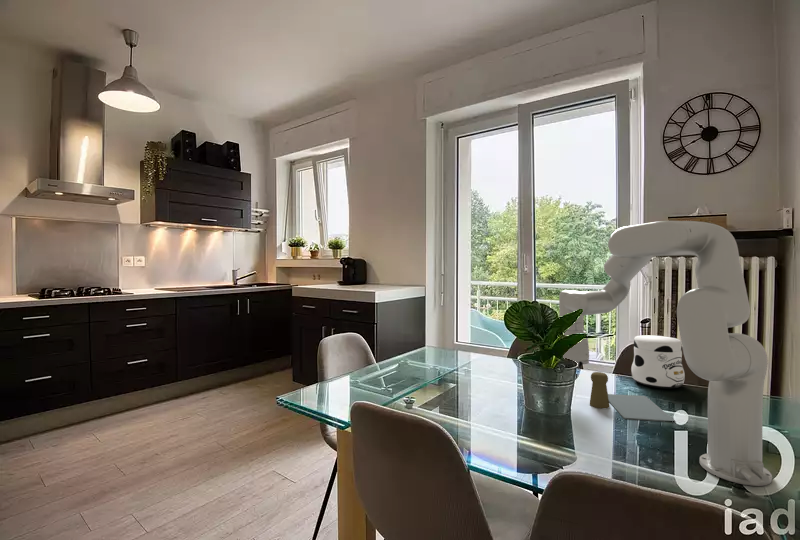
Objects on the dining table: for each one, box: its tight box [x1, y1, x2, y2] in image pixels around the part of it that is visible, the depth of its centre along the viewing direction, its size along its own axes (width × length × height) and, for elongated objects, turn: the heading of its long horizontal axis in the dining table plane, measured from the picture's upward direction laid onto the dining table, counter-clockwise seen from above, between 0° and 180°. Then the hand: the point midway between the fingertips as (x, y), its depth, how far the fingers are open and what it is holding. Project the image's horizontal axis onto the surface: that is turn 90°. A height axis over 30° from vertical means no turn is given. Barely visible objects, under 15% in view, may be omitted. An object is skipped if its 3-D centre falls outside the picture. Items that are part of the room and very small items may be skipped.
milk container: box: [630, 334, 686, 389], centre depth 152 cm, size 17×17×18 cm
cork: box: [589, 371, 611, 409], centre depth 131 cm, size 6×6×11 cm
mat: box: [608, 393, 676, 423], centre depth 129 cm, size 22×14×1 cm, turn 168°
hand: (571, 380), depth 133 cm, fingers closed
